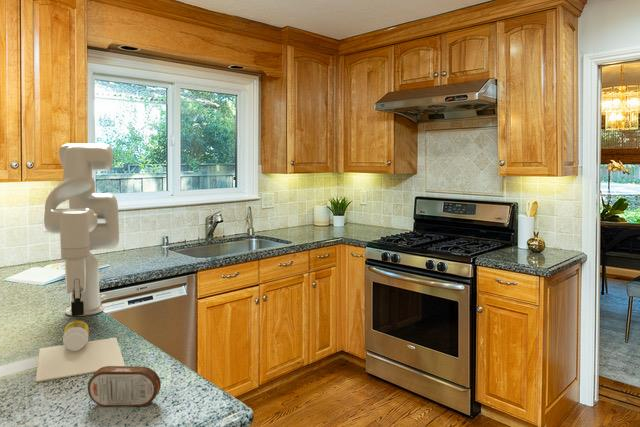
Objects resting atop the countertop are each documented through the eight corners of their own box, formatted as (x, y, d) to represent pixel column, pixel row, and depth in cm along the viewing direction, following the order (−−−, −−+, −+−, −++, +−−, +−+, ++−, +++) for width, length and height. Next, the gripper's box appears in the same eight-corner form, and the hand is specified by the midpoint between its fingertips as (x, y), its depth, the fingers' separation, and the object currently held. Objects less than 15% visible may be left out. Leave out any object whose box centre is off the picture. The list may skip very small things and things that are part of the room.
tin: (161, 401, 108) (160, 364, 107) (157, 408, 105) (156, 370, 104) (92, 402, 107) (91, 364, 106) (86, 409, 104) (84, 370, 103)
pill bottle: (91, 321, 145) (91, 332, 135) (85, 342, 145) (84, 355, 135) (68, 317, 143) (65, 329, 132) (61, 338, 142) (58, 352, 132)
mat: (39, 349, 138) (39, 348, 138) (116, 338, 147) (116, 337, 147) (35, 382, 116) (35, 380, 116) (125, 367, 126) (125, 365, 126)
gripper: (60, 250, 147) (63, 309, 149) (60, 258, 134) (63, 323, 135) (88, 248, 150) (90, 306, 152) (91, 256, 137) (93, 319, 139)
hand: (77, 314), depth 144 cm, fingers closed
